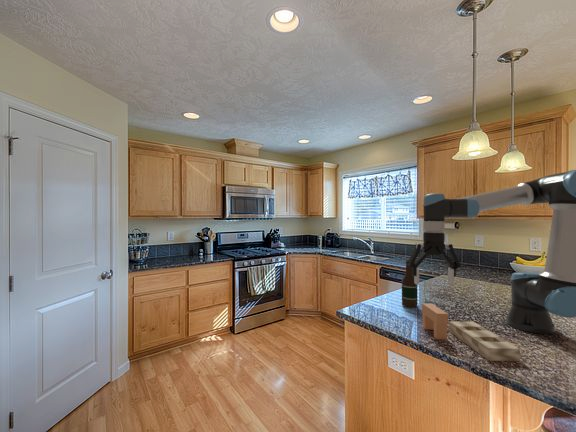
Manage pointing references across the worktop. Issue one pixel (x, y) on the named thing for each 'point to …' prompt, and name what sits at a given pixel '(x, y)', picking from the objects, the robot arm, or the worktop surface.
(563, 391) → the worktop surface
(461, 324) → the beige flat slotted piece
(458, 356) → the worktop surface
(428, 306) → the orange-brown block
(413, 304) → the beer bottle
